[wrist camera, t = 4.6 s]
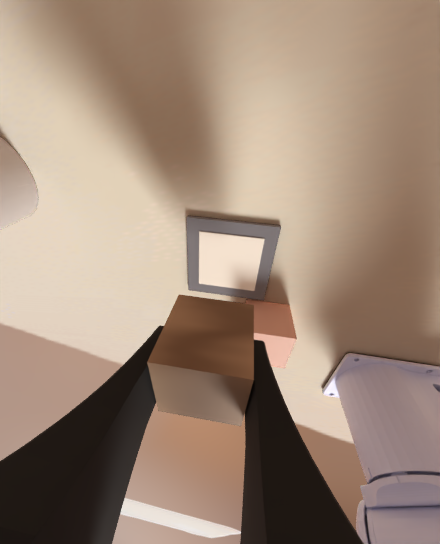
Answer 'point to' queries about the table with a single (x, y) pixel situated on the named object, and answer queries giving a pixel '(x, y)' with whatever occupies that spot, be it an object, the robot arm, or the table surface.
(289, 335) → the terracotta block
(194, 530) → the table surface
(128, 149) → the table surface
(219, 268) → the mat
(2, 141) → the coffee cup
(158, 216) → the table surface
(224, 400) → the walnut block
